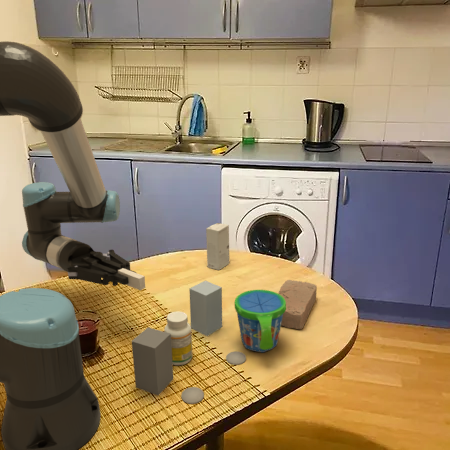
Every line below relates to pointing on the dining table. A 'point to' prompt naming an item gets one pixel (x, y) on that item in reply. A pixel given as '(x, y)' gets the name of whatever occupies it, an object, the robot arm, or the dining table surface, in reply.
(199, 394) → the coaster left
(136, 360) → the post charcoal
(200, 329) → the light grey rectangular block
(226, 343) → the dining table surface
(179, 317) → the supplement bottle
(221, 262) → the skincare box
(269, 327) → the snack cup
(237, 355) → the coaster right
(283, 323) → the brick
